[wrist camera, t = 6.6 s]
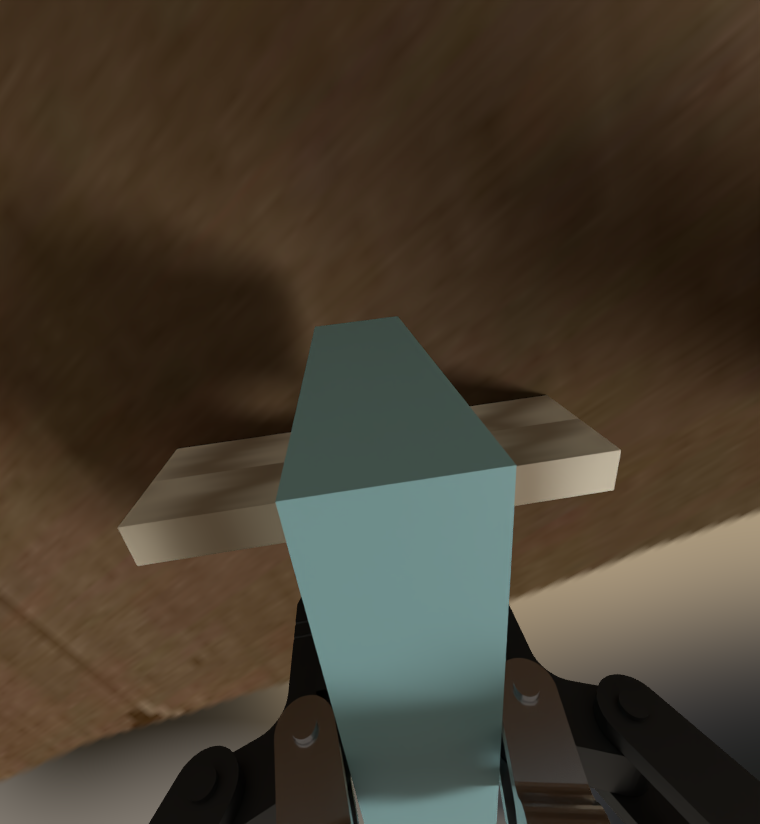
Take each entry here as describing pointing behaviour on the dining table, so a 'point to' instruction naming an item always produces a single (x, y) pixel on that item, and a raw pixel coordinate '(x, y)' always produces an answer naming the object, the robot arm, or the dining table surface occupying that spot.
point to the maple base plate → (264, 459)
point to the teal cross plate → (402, 570)
